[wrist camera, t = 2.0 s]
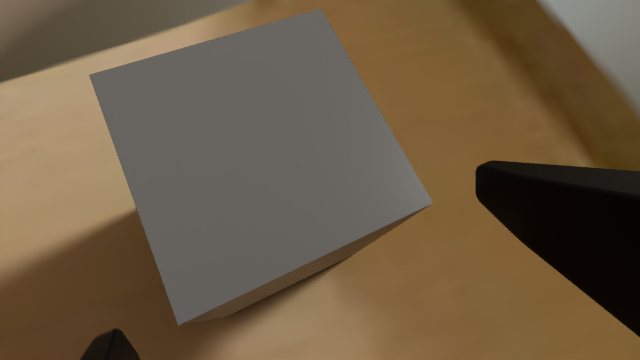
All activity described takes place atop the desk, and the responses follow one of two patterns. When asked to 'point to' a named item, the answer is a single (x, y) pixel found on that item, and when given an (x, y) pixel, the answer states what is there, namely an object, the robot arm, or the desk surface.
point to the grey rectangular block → (254, 162)
